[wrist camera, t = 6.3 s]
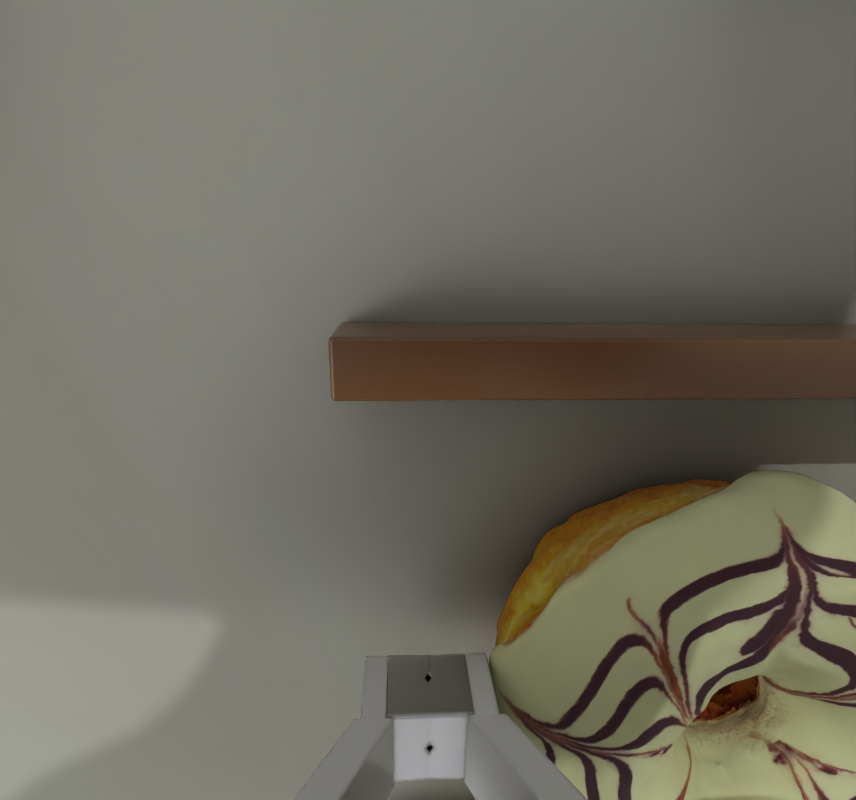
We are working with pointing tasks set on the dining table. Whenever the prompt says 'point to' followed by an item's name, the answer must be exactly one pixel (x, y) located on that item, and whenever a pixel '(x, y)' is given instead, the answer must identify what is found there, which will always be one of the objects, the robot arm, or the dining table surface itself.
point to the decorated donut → (691, 643)
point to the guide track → (590, 361)
